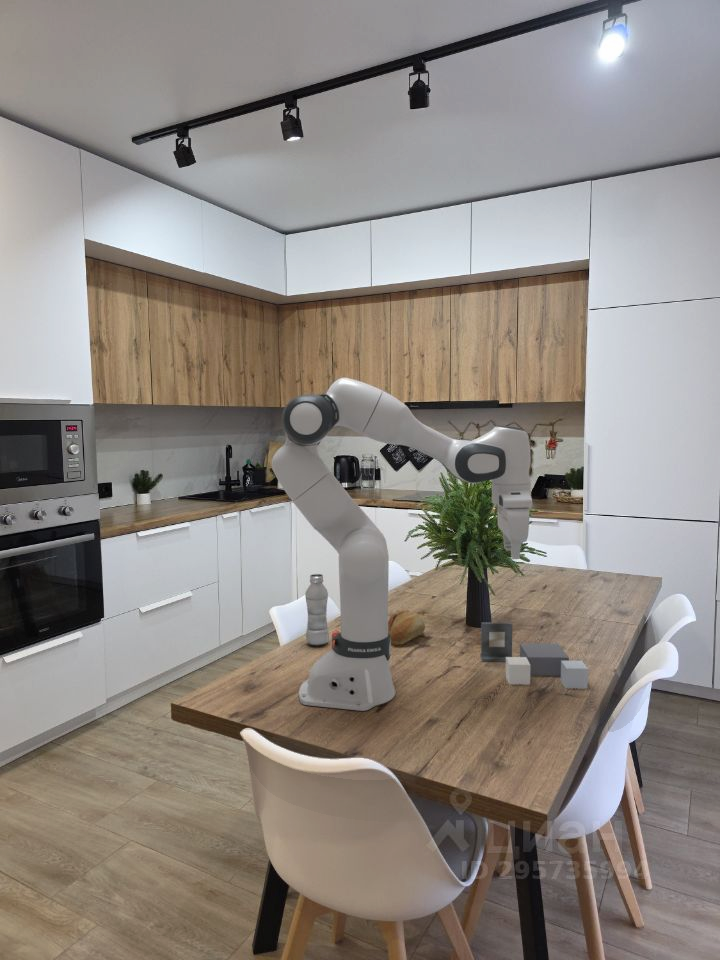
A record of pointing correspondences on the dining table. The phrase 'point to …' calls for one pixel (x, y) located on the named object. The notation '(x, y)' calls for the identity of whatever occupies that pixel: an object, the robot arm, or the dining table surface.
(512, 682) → the ivory cube
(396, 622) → the bread roll
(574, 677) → the grey blue cube
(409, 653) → the dining table surface
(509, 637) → the standing grey panel
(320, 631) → the plastic bottle
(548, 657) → the base block
